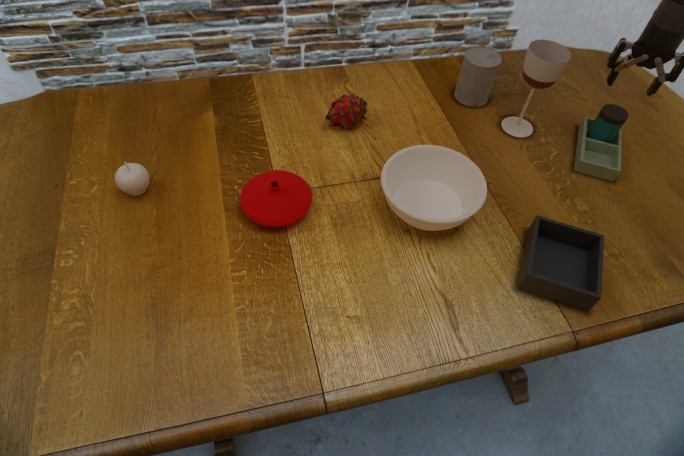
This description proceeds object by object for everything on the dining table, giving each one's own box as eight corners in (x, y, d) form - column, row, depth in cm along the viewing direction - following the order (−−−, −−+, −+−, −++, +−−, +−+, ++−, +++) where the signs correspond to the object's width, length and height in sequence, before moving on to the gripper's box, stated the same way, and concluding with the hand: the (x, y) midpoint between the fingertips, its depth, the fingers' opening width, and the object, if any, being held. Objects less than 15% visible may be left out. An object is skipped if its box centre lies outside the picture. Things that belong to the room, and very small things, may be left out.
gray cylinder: (481, 111, 125) (495, 71, 115) (449, 99, 127) (459, 59, 118) (492, 92, 130) (506, 53, 120) (460, 81, 133) (471, 42, 123)
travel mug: (610, 135, 119) (628, 107, 112) (609, 151, 116) (628, 123, 109) (585, 129, 121) (602, 101, 113) (584, 144, 117) (601, 116, 110)
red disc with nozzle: (291, 244, 96) (289, 223, 91) (227, 218, 100) (221, 196, 94) (324, 193, 105) (324, 171, 99) (264, 171, 109) (261, 148, 103)
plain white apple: (151, 174, 107) (140, 149, 100) (156, 196, 103) (145, 171, 96) (119, 182, 105) (106, 157, 99) (123, 204, 101) (110, 179, 95)
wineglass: (514, 111, 125) (545, 35, 108) (542, 130, 121) (579, 54, 103) (492, 122, 122) (520, 46, 104) (520, 143, 117) (554, 67, 100)
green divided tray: (615, 135, 121) (622, 125, 118) (613, 181, 110) (621, 171, 108) (578, 126, 122) (584, 115, 120) (573, 170, 112) (580, 160, 109)
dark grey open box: (591, 250, 98) (604, 235, 93) (587, 312, 89) (601, 298, 84) (527, 230, 100) (536, 214, 96) (516, 288, 92) (526, 274, 87)
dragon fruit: (369, 122, 123) (329, 139, 121) (357, 93, 122) (316, 109, 120) (377, 114, 114) (334, 132, 112) (364, 82, 114) (320, 100, 112)
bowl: (445, 265, 94) (455, 241, 88) (357, 212, 102) (359, 186, 95) (494, 200, 105) (505, 174, 99) (411, 156, 113) (416, 130, 107)
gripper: (634, 22, 91) (595, 90, 104) (712, 38, 89) (662, 106, 102) (634, 4, 96) (597, 72, 109) (708, 20, 93) (661, 87, 106)
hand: (628, 89), depth 105 cm, fingers open, 8 cm apart
